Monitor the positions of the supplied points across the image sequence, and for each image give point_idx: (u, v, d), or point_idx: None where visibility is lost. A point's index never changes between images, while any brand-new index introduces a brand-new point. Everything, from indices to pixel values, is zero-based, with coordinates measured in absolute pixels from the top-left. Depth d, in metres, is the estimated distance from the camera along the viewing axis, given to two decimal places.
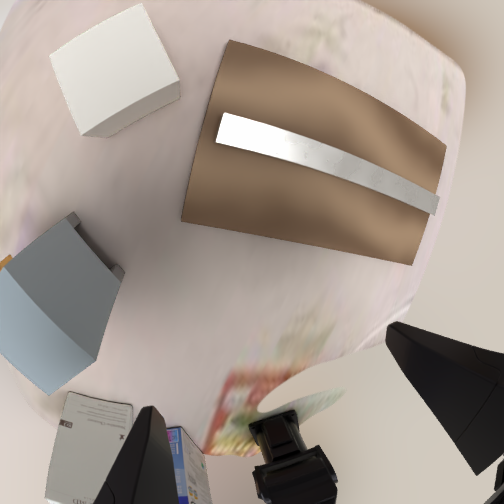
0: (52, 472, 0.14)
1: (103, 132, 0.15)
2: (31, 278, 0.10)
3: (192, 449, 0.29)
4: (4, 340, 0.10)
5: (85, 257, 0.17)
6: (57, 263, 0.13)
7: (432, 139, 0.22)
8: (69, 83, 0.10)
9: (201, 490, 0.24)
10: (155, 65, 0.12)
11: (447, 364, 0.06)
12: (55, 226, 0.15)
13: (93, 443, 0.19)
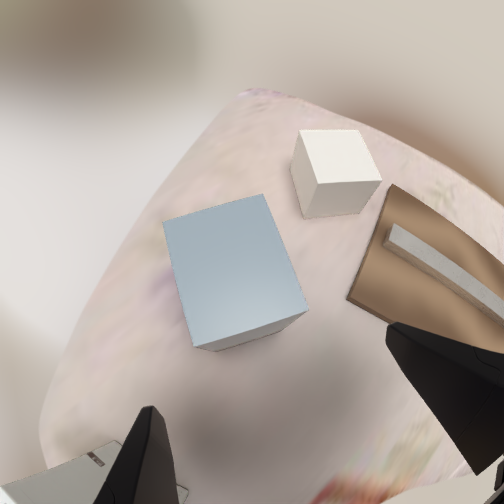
0: (40, 479, 0.08)
1: (315, 203, 0.24)
2: None
3: None
4: (196, 254, 0.14)
5: None
6: None
7: None
8: (313, 151, 0.22)
9: None
10: (368, 167, 0.22)
11: (447, 364, 0.06)
12: None
13: None
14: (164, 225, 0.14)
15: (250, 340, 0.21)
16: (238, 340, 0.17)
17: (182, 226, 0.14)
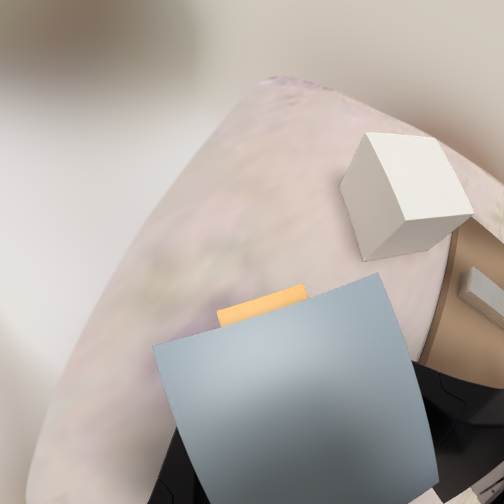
0: None
1: (388, 243, 0.15)
2: None
3: None
4: (241, 430, 0.05)
5: None
6: None
7: None
8: (391, 167, 0.14)
9: None
10: (458, 193, 0.13)
11: None
12: None
13: None
14: (157, 355, 0.06)
15: None
16: None
17: (201, 361, 0.06)
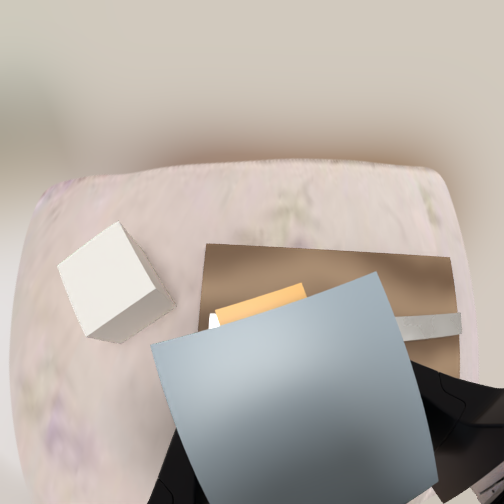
0: None
1: (110, 337, 0.18)
2: None
3: None
4: (239, 429, 0.05)
5: None
6: None
7: (432, 260, 0.23)
8: (73, 291, 0.16)
9: None
10: (135, 277, 0.17)
11: None
12: None
13: None
14: (155, 354, 0.06)
15: None
16: None
17: (199, 360, 0.06)
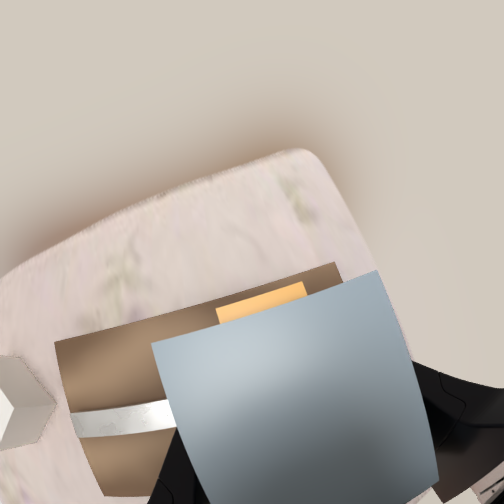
0: None
1: (20, 443, 0.12)
2: None
3: None
4: (240, 428, 0.05)
5: None
6: None
7: (305, 277, 0.21)
8: None
9: None
10: (1, 400, 0.11)
11: None
12: None
13: None
14: (156, 352, 0.06)
15: None
16: None
17: (200, 358, 0.06)
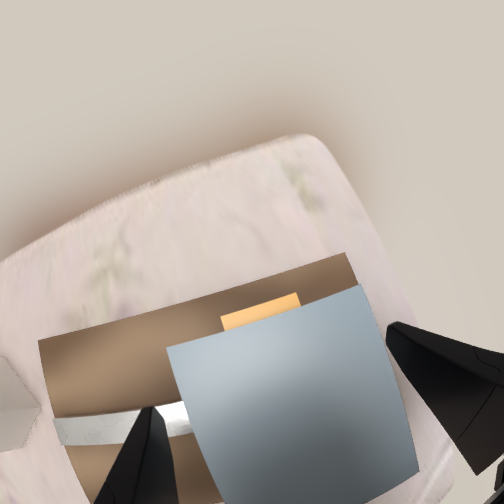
0: None
1: (3, 448, 0.10)
2: None
3: None
4: (242, 418, 0.06)
5: None
6: None
7: (313, 269, 0.19)
8: None
9: None
10: None
11: (447, 364, 0.06)
12: None
13: None
14: (171, 355, 0.07)
15: None
16: None
17: (208, 360, 0.07)
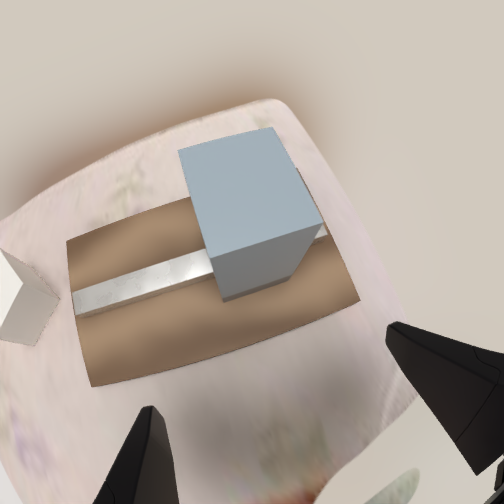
0: None
1: (18, 338, 0.18)
2: None
3: None
4: (211, 174, 0.14)
5: None
6: None
7: None
8: None
9: None
10: (11, 281, 0.17)
11: (447, 364, 0.06)
12: None
13: None
14: (179, 152, 0.14)
15: (259, 287, 0.21)
16: (250, 274, 0.17)
17: (197, 152, 0.14)
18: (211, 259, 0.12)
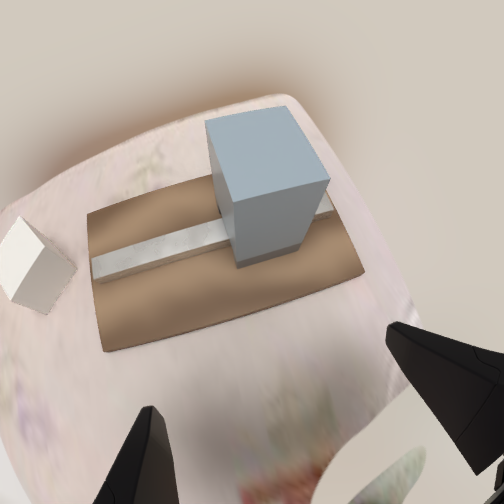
0: None
1: (33, 304, 0.20)
2: None
3: None
4: (234, 139, 0.16)
5: None
6: None
7: None
8: (0, 274, 0.17)
9: None
10: (32, 245, 0.19)
11: (447, 364, 0.06)
12: None
13: None
14: (206, 122, 0.16)
15: (271, 254, 0.23)
16: (265, 232, 0.19)
17: (222, 122, 0.16)
18: (234, 204, 0.14)
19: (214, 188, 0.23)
